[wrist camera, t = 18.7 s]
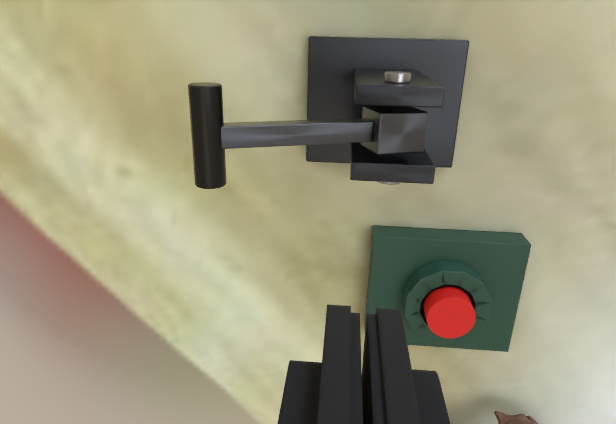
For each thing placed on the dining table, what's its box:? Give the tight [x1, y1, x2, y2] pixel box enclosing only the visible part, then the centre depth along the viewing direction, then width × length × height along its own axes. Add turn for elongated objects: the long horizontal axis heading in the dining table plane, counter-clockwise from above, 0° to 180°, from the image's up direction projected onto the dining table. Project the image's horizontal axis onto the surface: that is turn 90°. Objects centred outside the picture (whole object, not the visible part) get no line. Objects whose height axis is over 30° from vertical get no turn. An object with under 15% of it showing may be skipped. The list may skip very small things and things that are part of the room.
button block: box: [365, 226, 531, 352], centre depth 38 cm, size 12×10×4 cm
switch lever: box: [188, 83, 428, 189], centre depth 25 cm, size 12×5×2 cm, turn 90°
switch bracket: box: [306, 36, 469, 185], centre depth 30 cm, size 11×9×12 cm
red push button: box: [423, 286, 476, 338], centre depth 36 cm, size 4×4×2 cm
